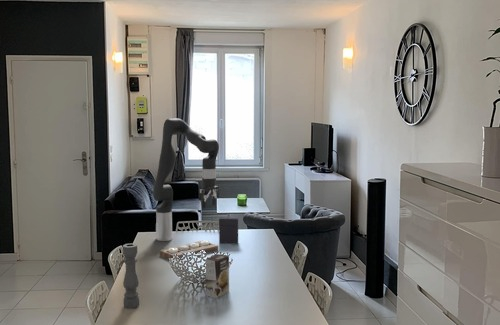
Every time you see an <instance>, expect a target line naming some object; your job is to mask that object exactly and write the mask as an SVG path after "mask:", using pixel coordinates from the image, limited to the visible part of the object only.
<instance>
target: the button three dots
mask: <svg viewBox="0 0 500 325" xmlns="http://www.w3.org/2000/svg"><path fill="white" fill-rule="evenodd" d="M191 243H192V244H190V243H189V244H190V248H192V249H195V248H199V244H198V243H194V242H191Z"/></svg>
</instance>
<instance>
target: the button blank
mask: <svg viewBox="0 0 500 325" xmlns="http://www.w3.org/2000/svg"><path fill="white" fill-rule="evenodd" d="M183 245H184V246H181V245H179V246H180V251H186V250H189V246H185V244H183Z"/></svg>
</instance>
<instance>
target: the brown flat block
mask: <svg viewBox="0 0 500 325" xmlns="http://www.w3.org/2000/svg"><path fill="white" fill-rule="evenodd" d="M201 241H202V240H200V241H194V242H190V243H185V244H181V245H177V246H172V247H167V248H163V249H160V250H159V256H160V257H163V258H165V259H167V260H169V258H173V255H174V254H177V256H178V257H179V258H180V259H181V258H182V257H183V255H182V253H187V252H193V251H195V254H197V253H198V252H200V251H201V250H205V252H206V253H207V254H211V253H214V252H213V251H215V252H218V251H219V245H218V244H215V243H212V242H209V245H208V246H201V245H200V242H201ZM192 243H198V244H199V248H195V249H192V248H190V244H192ZM184 245H185V246H189V250H186V251H180V246H184ZM170 248H177V249H178V253H174V254H171V253H169V249H170ZM210 252H211V253H210Z"/></svg>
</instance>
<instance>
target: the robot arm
mask: <svg viewBox="0 0 500 325" xmlns="http://www.w3.org/2000/svg"><path fill="white" fill-rule="evenodd" d="M175 135H176V136H177V135H182V136H186V140H187V141H188V142H189V143H190V144H191V145H193V146H195V147H196V148H197V149H198V150H199V152H200V153H203V154H208V155H207V156H206V157H203V158H202V167H201V168H202V170H201V186H202V187H203V188H202V189H200V188H199V189H198V201H200V202H201V208H202V209H207V199H208V198H209V197H211V205H212V206H217V199H218V198H219V197H220V189H219V188H220V186H217V169H216V167H217V166H216V165H217V164H216V163H217V162H216V161H217V158H218V154H219V149H220V145H219V142H218V140H217V139H206V136H204V135H203V134H201V133H199V132H198V131H196V130H194V129H193V128H192V127H191V126H190V125H188V123H186V122H185V120H184V119H182V118H167V119H165V121H164V123H163V127H162V142H161V150H160V155H159V161H158V168H157V174H156V178H155V182H154V185H153V190H152V197H153V198H152V199H154V201H155V202H161V203H160V204H159V205H157V206H156V208H155V213H156V214H155V215H156V216H155V218H156V223H155V238H156V240H157V241H158V242H168V241H172V240H173V212H172V211H173V204H174V203H173V202H174V199H173V198H174V190H173V188H172V186H171V185H170V184H165V182H166V180H167V178H168V177H169V176H170V174H171V173H172V172H173V170H174V169H175V165H176V161H177V154H176V152H175V148H173V145H172V141H173V136H175Z"/></svg>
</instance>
